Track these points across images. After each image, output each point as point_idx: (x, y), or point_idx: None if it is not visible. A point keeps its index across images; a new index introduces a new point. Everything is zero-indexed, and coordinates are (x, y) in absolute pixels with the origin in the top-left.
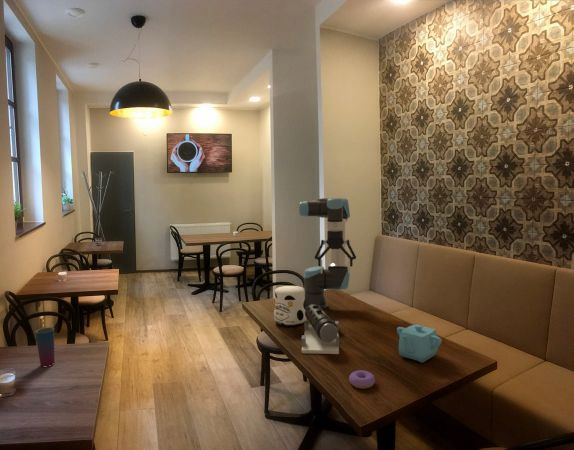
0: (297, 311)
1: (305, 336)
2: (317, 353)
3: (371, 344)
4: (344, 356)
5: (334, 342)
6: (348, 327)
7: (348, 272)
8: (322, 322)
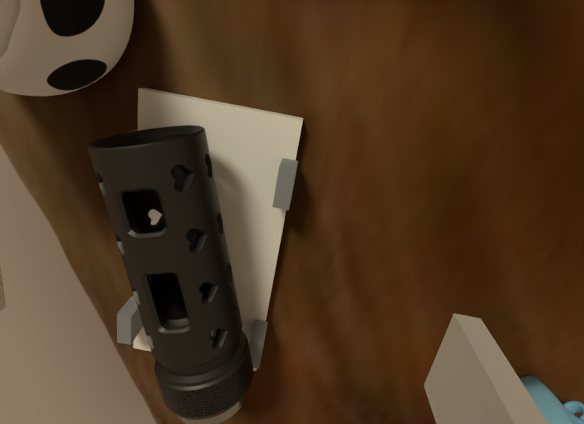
0: (46, 81)
1: (131, 324)
2: None
3: (393, 312)
4: (272, 378)
5: (252, 310)
6: (360, 115)
7: (445, 342)
8: (173, 412)
